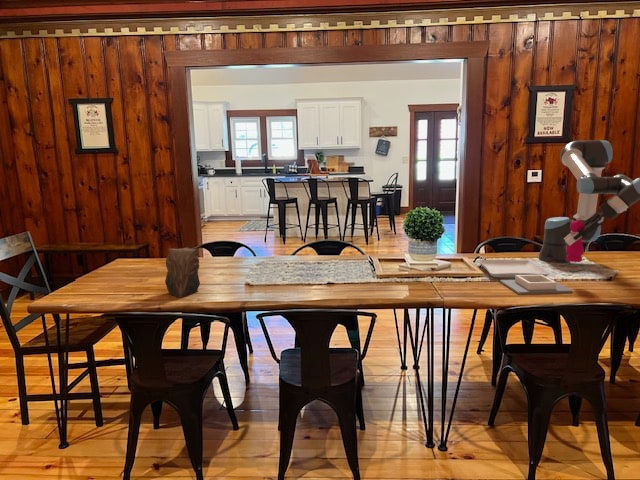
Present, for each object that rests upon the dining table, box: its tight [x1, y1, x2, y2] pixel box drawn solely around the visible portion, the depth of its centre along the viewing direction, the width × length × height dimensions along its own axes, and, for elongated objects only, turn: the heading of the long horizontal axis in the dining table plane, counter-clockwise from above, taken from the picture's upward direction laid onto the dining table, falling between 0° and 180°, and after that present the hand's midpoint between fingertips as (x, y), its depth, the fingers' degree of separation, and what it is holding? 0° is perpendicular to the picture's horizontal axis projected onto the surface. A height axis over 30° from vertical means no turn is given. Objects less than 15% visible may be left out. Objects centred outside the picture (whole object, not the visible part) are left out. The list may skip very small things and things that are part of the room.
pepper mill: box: [566, 217, 585, 263], centre depth 208 cm, size 7×7×20 cm
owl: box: [164, 246, 201, 299], centre depth 203 cm, size 13×13×20 cm
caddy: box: [499, 275, 573, 295], centre depth 206 cm, size 18×24×4 cm
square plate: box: [477, 259, 550, 279], centre depth 230 cm, size 27×27×4 cm
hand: (566, 242), depth 209 cm, fingers closed on pepper mill, 5 cm apart
